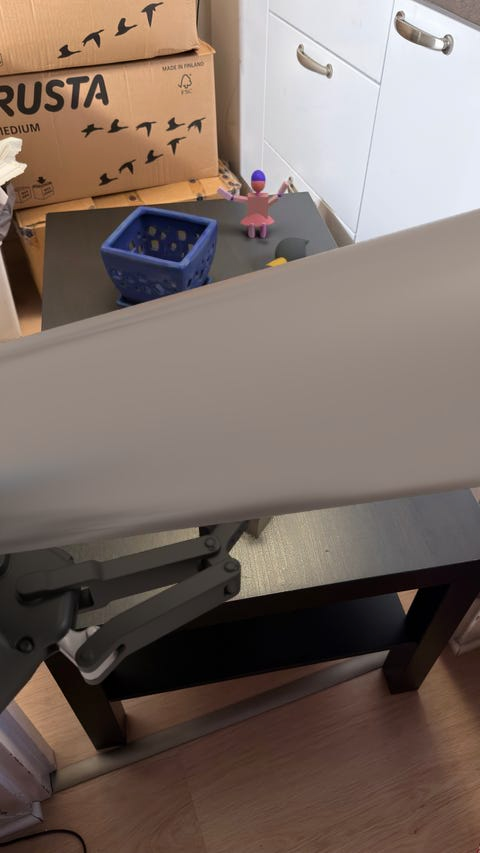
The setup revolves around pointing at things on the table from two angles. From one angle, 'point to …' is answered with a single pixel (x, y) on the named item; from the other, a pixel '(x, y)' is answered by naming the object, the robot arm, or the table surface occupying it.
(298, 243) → the paintbrush
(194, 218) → the flower pot
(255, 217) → the figurine
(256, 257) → the table surface
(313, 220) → the table surface
